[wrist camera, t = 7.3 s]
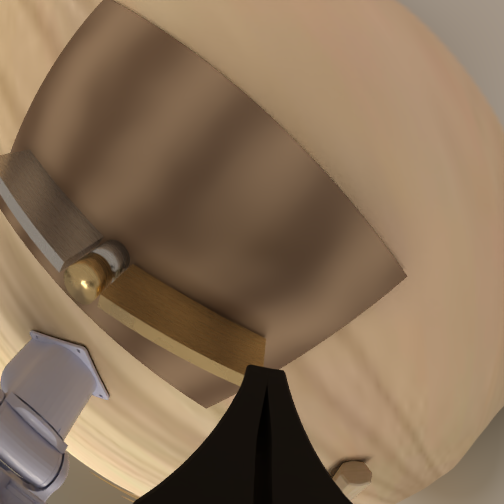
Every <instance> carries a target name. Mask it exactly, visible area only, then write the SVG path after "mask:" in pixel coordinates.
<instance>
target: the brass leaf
mask: <svg viewBox="0 0 504 504" xmlns="http://www.w3.org/2000/svg"><path fill="white" fill-rule="evenodd" d="M112 278H113V275H112V270H111V267H110V265H109V264H108V262H107V261H106V260H105V258H104V257H102V256H101V255H99V254H97V253H88V254H87V255H85V256H84V257H82V258H81V259H79V260H78V261H76V262H75V263H74V264H72V265H71V266H69V267H68V268H67V269H66V270H65V272H64V283H65V286H66V289H67V291H68V292H69V294H70V295H71V296H72V297H73V298H74V299H75V300H76V301H77V302H79V303H81V304H85V305H88V304H91V303H92V302H93V301H94V300H95V299H96V298H97V297H98V296H99V295H100V297H99V301H98V306H97V307H99V308H100V309H101V310H103V311H104V312H106V313H107V314H109V315H110V316H112V317H113V318H115V319H116V320H118V321H119V322H121V323H123V324H124V325H126V326H127V327H129V328H130V329H132V330H134V331H135V332H137V333H138V334H140V335H142V336H143V337H145V338H147V339H148V340H150V341H152V342H154V343H155V344H157V345H159V346H160V347H162V348H164V349H166V350H168V351H169V352H171V353H173V354H175V355H177V356H179V357H180V358H182V359H184V360H186V361H188V362H190V363H192V364H194V365H196V366H198V367H200V368H202V369H204V370H206V371H208V372H210V373H212V374H214V375H216V376H218V377H220V378H222V379H225V380H227V381H229V382H231V383H233V384H236V385H238V386H241V384H242V381H243V378H244V374H245V371H246V367H247V366H248V365H250V364H251V365H256V366H261V367H263V366H264V356H265V345H266V339H265V338H263V337H261V336H259V335H257V334H255V333H253V332H251V331H249V330H248V329H246V328H244V327H242V326H240V325H238V324H236V323H234V322H232V321H230V320H228V319H227V318H225V317H223V316H221V315H219V314H217V313H215V312H214V311H212V310H210V309H208V308H206V307H205V306H203V305H201V304H199V303H197V302H196V301H194V300H192V299H190V298H189V297H187V296H185V295H183V294H182V293H180V292H178V291H177V290H175V289H173V288H171V287H170V286H168V285H166V284H165V283H163V282H161V281H160V280H158V279H156V278H155V277H153V276H152V275H150V274H148V273H147V272H145V271H143V270H142V269H140V268H139V267H137V266H135V265H134V264H132V265H131V266H130V267H129V268H128V269H127V270H126V271H124V272H123V273H122V274H121V275H120V276H119V277H118V278H117V279H116V280H115V281H114V282H113V283H111V282H112Z"/></svg>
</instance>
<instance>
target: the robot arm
mask: <svg viewBox="0 0 504 504" xmlns="http://www.w3.org/2000/svg"><path fill="white" fill-rule="evenodd" d="M30 335H31V338H32V339H31V340H30V341H29V342H28V343H27V344H26V345H25V346H24V347H23V348H22V349H21V350H20V351H19V352H18V353H17V355H16V356H15V357H14V358H13V359H12V360H11V361H10V362H9V363H8V364H7V365H6V367H5V368H4V370H3V373H2V376H1V388H2V389H0V459H1V460H2V461H3V462H5V463H6V464H7V465H8V466H9V467H10V468H12V469H13V470H14V471H15V472H16V473H18V474H19V475H20V476H21V477H20V476H18V475H17V474H15V473H14V472H13V471H11V470H10V469H9V468H8V467H7V466H6V465H4V464H3V463H2V462H1V461H0V504H47V503H46V502H45V501H46V500H47V499H48V497H49V496H50V495H51V494H52V493H53V492H54V491H55V490H57V489H58V488H59V487H60V486H61V485H62V484H63V482H64V480H65V479H66V477H67V474H68V471H69V457H68V454H67V452H66V451H65V450H66V448H67V446H68V445H67V444H66V443H65V442H64V439H65V438H66V436H67V434H68V433H69V431H70V429H71V428H72V426H73V424H74V423H75V421H76V419H77V418H78V416H79V415H80V413H81V411H82V410H83V408H84V407H85V405H86V403H87V402H88V400H89V399H90V397H91V395H94V396H96V397H99V398H102V399H105V400H108V399H109V395H108V393H107V391H106V389H105V387H104V385H103V383H102V381H101V379H100V377H99V375H98V373H97V371H96V369H95V367H94V365H93V363H92V360H91V358H90V356H89V354H88V351H87V349H86V348H85V347H83V346H80V345H76V344H73V343H69V342H66V341H63V340H60V339H56V338H53V337H50V336H47V335H44V334H42V333H39V332H36V331H33V330H31V331H30ZM22 477H23V478H22ZM133 504H353V503H352V502H351V501H350V500H349V499H348V498H347V497H346V496H345V494H344V493H343V492H342V491H341V489H340V488H339V487H338V485H337V484H336V483H335V482H334V480H333V479H332V478H331V476H330V475H329V473H328V472H327V470H326V469H325V467H324V466H323V464H322V462H321V461H320V459H319V457H318V456H317V454H316V452H315V450H314V448H313V447H312V445H311V443H310V441H309V439H308V436H307V434H306V432H305V430H304V428H303V425H302V423H301V421H300V418H299V415H298V413H297V410H296V408H295V405H294V402H293V399H292V396H291V393H290V389H289V386H288V382H287V378H286V374H285V372H284V371H283V370H277V369H272V368H267V367H261V366H256V365H251V364H250V365H248V366H247V367H246V371H245V374H244V378H243V381H242V384H241V386H240V388H239V390H238V392H237V394H236V396H235V398H234V399H233V401H232V403H231V405H230V406H229V408H228V410H227V411H226V413H225V414H224V416H223V417H222V419H221V420H220V421H219V423H218V424H217V426H216V427H215V428H214V430H213V431H212V432H211V434H210V435H209V436H208V437H207V438H206V440H205V441H204V442H203V443H202V444H201V445H200V447H199V448H198V449H197V450H196V451H195V452H194V453H193V454H192V455H191V456H190V457H189V458H188V459H187V460H186V461H185V462H184V463H183V464H182V465H181V466H180V467H179V468H178V469H176V470H175V471H174V472H173V473H172V474H171V475H170V476H168V477H167V478H166V479H165V480H164V481H162V482H161V483H160V484H159V485H157V486H156V487H155V488H153V489H152V490H150V491H149V492H147V493H146V494H145V495H143V496H142V497H140V498H139V499H137V500H136V501H135V502H134V503H133Z"/></svg>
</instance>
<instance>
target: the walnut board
mask: <svg viewBox="0 0 504 504" xmlns="http://www.w3.org/2000/svg"><path fill="white" fill-rule="evenodd" d="M25 150H30V151H31V152H32V153H33V155H34V156H35V157H36V159H37V160H38V161H39V162H40V164H41V165H42V166H43V168H44V169H45V170H46V171H47V173H48V174H49V175H50V176H51V178H52V179H53V180H54V181H55V182H56V184H57V185H58V186H59V187H60V188H61V190H62V191H63V192H64V193H65V194H66V196H67V197H68V198H69V199H70V200H71V201H72V202H73V204H74V205H75V206H76V207H77V208H78V209H79V210H80V212H81V213H82V214H83V215H84V216H85V217H86V218H87V219H88V220H89V221H90V223H91V224H92V225H93V226H94V227H95V228H96V229H97V230H98V231H99V232H100V233H101V234H102V235H103V236H104V237H103V238H102V240H101V241H100V243H99V245H98V246H100V245H102V244H103V243H105V242H106V241H108V240H117V241H119V242H120V243H122V244H123V245H124V246H125V247H126V249H127V251H128V253H129V256H130V265H129V267H130V266H131V265H132V264H134V265H135V266H137V267H139V268H140V269H142V270H143V271H145V272H147V273H148V274H150V275H152V276H153V277H155V278H156V279H158V280H160V281H161V282H163V283H165V284H166V285H168V286H170V287H171V288H173V289H175V290H177V291H178V292H180V293H182V294H183V295H185V296H187V297H189V298H190V299H192V300H194V301H196V302H197V303H199V304H201V305H203V306H205V307H206V308H208V309H210V310H212V311H214V312H215V313H217V314H219V315H221V316H223V317H225V318H227V319H228V320H230V321H232V322H234V323H236V324H238V325H240V326H242V327H244V328H246V329H248V330H249V331H251V332H253V333H255V334H257V335H259V336H261V337H263V338H265V339H266V345H265V356H264V366H263V367H267V368H272V369H277V370H279V369H280V368H282V367H283V366H285V365H287V364H288V363H290V362H292V361H293V360H295V359H296V358H298V357H300V356H301V355H303V354H304V353H306V352H307V351H309V350H310V349H312V348H313V347H315V346H316V345H318V344H319V343H321V342H322V341H324V340H325V339H327V338H328V337H330V336H331V335H333V334H334V333H335V332H337V331H338V330H340V329H341V328H342V327H344V326H345V325H347V324H348V323H349V322H351V321H352V320H353V319H355V318H356V317H357V316H359V315H360V314H361V313H363V312H364V311H365V310H367V309H368V308H369V307H371V306H372V305H373V304H374V303H376V302H377V301H378V300H379V299H381V298H382V297H383V296H384V295H386V294H387V293H388V292H389V291H391V290H392V289H393V288H394V287H395V286H397V285H398V284H399V283H400V282H401V281H403V280H404V279H405V278H406V277H407V275H406V274H405V272H404V271H403V269H402V268H401V266H400V265H399V264H398V262H397V261H396V259H395V258H394V257H393V255H392V254H391V252H390V251H389V250H388V248H387V247H386V246H385V244H384V243H383V242H382V240H381V239H380V238H379V236H378V235H377V234H376V232H375V231H374V230H373V229H372V227H371V226H370V225H369V223H368V222H367V221H366V220H365V218H364V217H363V216H362V215H361V213H360V212H359V211H358V210H357V209H356V207H355V206H354V205H353V204H352V202H351V201H350V200H349V199H348V198H347V197H346V195H345V194H344V193H343V192H342V191H341V190H340V188H339V187H338V186H337V185H336V184H335V183H334V182H333V180H332V179H331V178H330V177H329V176H328V175H327V174H326V173H325V172H324V170H323V169H322V168H321V167H320V166H319V165H318V164H317V163H316V162H315V161H314V160H313V159H312V158H311V156H310V155H309V154H308V153H307V152H306V151H305V150H304V149H303V148H302V147H301V146H300V145H299V144H298V143H297V142H296V141H295V140H294V139H293V138H292V137H291V136H290V135H289V134H288V133H287V132H286V131H285V130H284V129H283V128H282V127H281V126H280V125H279V124H278V123H277V122H276V121H275V120H274V119H272V118H271V117H270V116H269V115H268V114H267V113H266V112H265V111H264V110H263V109H262V108H261V107H260V106H258V105H257V104H256V103H255V102H254V101H253V100H252V99H251V98H249V97H248V96H247V95H246V94H245V93H244V92H243V91H241V90H240V89H239V88H238V87H237V86H236V85H234V84H233V83H232V82H231V81H230V80H228V79H227V78H226V77H225V76H223V75H222V74H221V73H220V72H219V71H217V70H216V69H215V68H214V67H212V66H211V65H210V64H208V63H207V62H206V61H205V60H203V59H202V58H201V57H199V56H198V55H197V54H195V53H194V52H193V51H191V50H190V49H188V48H187V47H186V46H184V45H183V44H181V43H180V42H179V41H177V40H176V39H174V38H173V37H171V36H170V35H168V34H167V33H165V32H164V31H162V30H161V29H159V28H158V27H156V26H155V25H153V24H152V23H150V22H149V21H147V20H145V19H144V18H142V17H140V16H139V15H137V14H135V13H134V12H132V11H130V10H129V9H127V8H125V7H123V6H121V5H120V4H118V3H116V2H114V1H112V0H103V1H102V2H101V3H100V4H99V5H98V6H97V7H96V8H95V10H94V11H93V12H92V13H91V14H90V15H89V17H88V18H87V19H86V20H85V21H84V23H83V24H82V25H81V26H80V28H79V29H78V30H77V32H76V33H75V34H74V36H73V37H72V38H71V40H70V41H69V42H68V44H67V45H66V47H65V48H64V49H63V51H62V52H61V54H60V55H59V57H58V58H57V60H56V61H55V63H54V65H53V66H52V68H51V69H50V71H49V73H48V74H47V76H46V78H45V80H44V81H43V83H42V85H41V87H40V88H39V90H38V92H37V94H36V96H35V98H34V100H33V102H32V104H31V106H30V108H29V110H28V112H27V114H26V116H25V118H24V120H23V123H22V125H21V127H20V129H19V132H18V134H17V137H16V139H15V142H14V144H13V147H12V150H11V152H10V153H14V152H19V151H25ZM0 209H1V211H2V212H3V214H4V215H5V217H6V218H7V220H8V221H9V223H10V224H11V226H12V227H13V228H14V230H15V231H16V233H17V234H18V235H19V237H20V238H21V240H22V241H23V242H24V244H25V245H26V246H27V248H28V249H29V250H30V251H31V253H32V254H33V255H34V257H35V258H36V259H37V260H38V262H39V263H40V264H41V265H42V266H43V268H44V269H45V270H46V271H47V272H48V274H49V275H50V276H51V277H52V278H53V279H54V280H55V282H56V283H57V284H58V285H59V286H60V287H61V288H62V289H63V290H64V292H65V293H66V294H67V295H68V296H69V297H70V298H71V299H72V300H73V301H74V302H75V303H76V304H77V305H78V306H79V307H80V308H81V309H82V310H83V311H84V312H85V313H86V314H87V315H88V316H89V317H90V318H91V319H92V320H93V321H94V322H95V323H96V324H97V325H98V326H99V327H100V328H101V329H103V330H104V331H105V332H106V333H107V334H108V335H109V336H110V337H111V338H113V339H114V340H115V341H116V342H117V343H118V344H119V345H121V346H122V347H123V348H124V349H125V350H126V351H128V352H129V353H130V354H131V355H132V356H134V357H135V358H136V359H137V360H139V361H140V362H141V363H142V364H144V365H145V366H146V367H148V368H149V369H150V370H151V371H153V372H154V373H155V374H157V375H158V376H159V377H161V378H162V379H163V380H165V381H166V382H168V383H169V384H170V385H172V386H173V387H175V388H176V389H177V390H179V391H180V392H182V393H183V394H185V395H186V396H188V397H189V398H191V399H192V400H194V401H195V402H197V403H198V404H200V405H202V406H203V407H205V408H208V407H210V406H212V405H214V404H217V403H219V402H221V401H222V400H224V399H226V398H228V397H230V396H232V395H234V394H236V393H237V392H238V390H239V388H240V386H238V385H236V384H233V383H231V382H229V381H227V380H225V379H222V378H220V377H218V376H216V375H214V374H212V373H210V372H208V371H206V370H204V369H202V368H200V367H198V366H196V365H194V364H192V363H190V362H188V361H186V360H184V359H182V358H180V357H179V356H177V355H175V354H173V353H171V352H169V351H168V350H166V349H164V348H162V347H160V346H159V345H157V344H155V343H154V342H152V341H150V340H148V339H147V338H145V337H143V336H142V335H140V334H138V333H137V332H135V331H134V330H132V329H130V328H129V327H127V326H126V325H124V324H123V323H121V322H119V321H118V320H116V319H115V318H113V317H112V316H110V315H109V314H107V313H106V312H104V311H103V310H101V309H100V308H99V307H97V306H98V301H99V297H100V295H99V296H98V297H97V298H96V299H95V300H94V301H93V302H92V303H91V304H88V305H85V304H81V303H79V302H77V301H76V300H75V299H74V298H73V297H72V296H71V295H70V294H69V292H68V291H67V289H66V286H65V283H64V272H65V270H66V269H67V268H68V267H69V266H71V265H72V264H74V263H75V262H76V261H78V260H79V259H81V258H82V257H84V256H85V255H87V254H88V253H90V252H91V251H92V250H91V251H90V252H88V253H87V254H85V255H84V256H82V257H81V258H79V259H78V260H76V261H75V262H74V263H72V264H71V265H69V266H68V267H66V268H65V269H64V270H62V271H61V272H58V271H57V270H56V268H55V267H54V266H53V265H52V264H51V263H50V261H49V260H48V259H47V258H46V257H45V256H44V254H43V253H42V252H41V251H40V249H39V248H38V247H37V246H36V244H35V243H34V242H33V240H32V239H31V238H30V237H29V235H28V234H27V233H26V231H25V230H24V229H23V227H22V226H21V224H20V223H19V222H18V220H17V219H16V217H15V216H14V215H13V213H12V212H11V210H10V209H9V207H8V206H7V204H6V203H5V201H4V200H3V198H2V196H1V195H0ZM98 246H97V247H98ZM97 247H96V248H97ZM94 249H95V248H94ZM94 249H93V250H94ZM129 267H128V268H129Z"/></svg>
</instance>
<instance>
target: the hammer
mask: <svg viewBox="0 0 504 504" xmlns="http://www.w3.org/2000/svg"><path fill="white" fill-rule="evenodd" d="M371 477H372V472H371V471H370V470H369V468H368V467H367V466H366V465H365V463H364V462H358V461H348V462H345V463H343V464H342V465H341V466H340V468H339V469H338V471H337V472H336V474H335V475H334V476H333V478H332V479H333V480H334V482H335V483H336V484H337V485H338V487H339V488H340V489H341V491H342V492H343V493H344V494H345V496H346V497H347V498H348V499H349V500H350V501H352V500H353V499H354V498H355V497H356V496H357V495H359V494H360V493H361V492H362V491H363V490H364V489H365V488H366V487H367V486H368V485H369V484H370V483H371Z"/></svg>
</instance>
